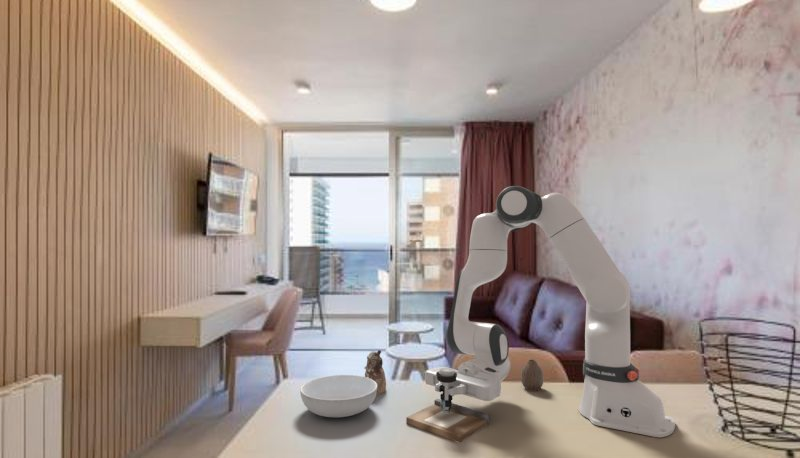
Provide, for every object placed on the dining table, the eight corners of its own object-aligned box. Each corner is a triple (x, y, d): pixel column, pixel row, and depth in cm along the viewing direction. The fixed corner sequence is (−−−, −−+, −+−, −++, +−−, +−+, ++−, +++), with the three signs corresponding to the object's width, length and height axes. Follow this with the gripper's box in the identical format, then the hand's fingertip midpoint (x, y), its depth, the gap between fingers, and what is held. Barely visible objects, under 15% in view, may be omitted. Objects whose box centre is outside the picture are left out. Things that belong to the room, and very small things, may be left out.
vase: (546, 387, 141) (546, 359, 141) (540, 394, 135) (540, 365, 135) (524, 383, 144) (524, 356, 144) (518, 389, 138) (518, 361, 139)
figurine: (358, 389, 138) (358, 351, 138) (376, 384, 142) (376, 347, 143) (372, 396, 132) (373, 355, 133) (390, 390, 137) (390, 351, 137)
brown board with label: (488, 423, 113) (488, 414, 113) (459, 442, 103) (459, 431, 103) (437, 407, 123) (437, 398, 124) (406, 423, 113) (406, 413, 113)
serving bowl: (365, 393, 135) (365, 370, 135) (387, 421, 115) (387, 394, 115) (295, 402, 128) (295, 378, 128) (305, 432, 108) (306, 404, 108)
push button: (457, 416, 109) (457, 375, 109) (435, 415, 109) (435, 374, 110) (456, 405, 116) (456, 367, 116) (436, 404, 116) (436, 366, 116)
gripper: (441, 358, 129) (411, 369, 119) (505, 373, 116) (478, 387, 106) (441, 380, 129) (411, 393, 119) (505, 397, 116) (477, 413, 106)
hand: (443, 390), depth 112 cm, fingers closed on push button, 2 cm apart
